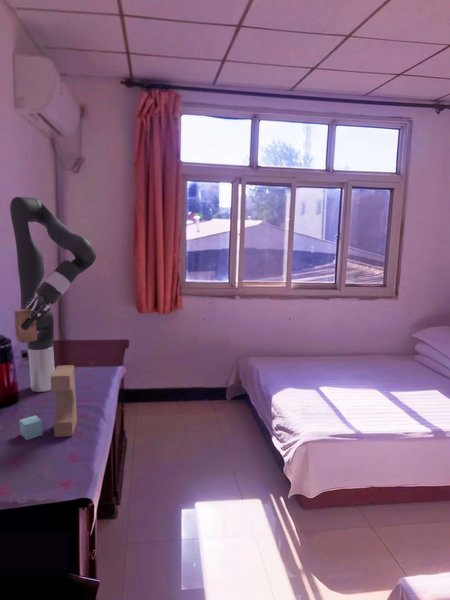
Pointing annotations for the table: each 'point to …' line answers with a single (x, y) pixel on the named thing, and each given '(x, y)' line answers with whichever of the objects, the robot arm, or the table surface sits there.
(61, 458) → the table surface
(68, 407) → the decorative block
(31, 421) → the teal cube
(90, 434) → the table surface
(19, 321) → the tan long block
